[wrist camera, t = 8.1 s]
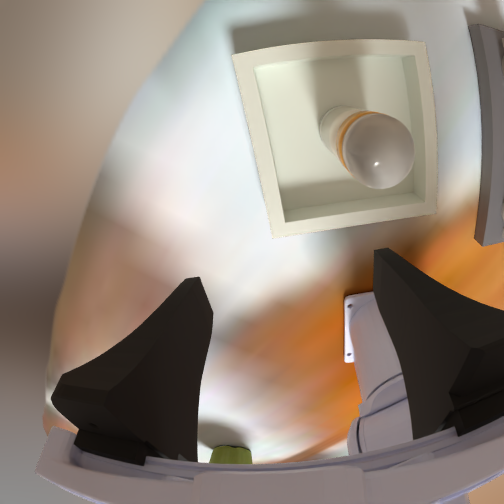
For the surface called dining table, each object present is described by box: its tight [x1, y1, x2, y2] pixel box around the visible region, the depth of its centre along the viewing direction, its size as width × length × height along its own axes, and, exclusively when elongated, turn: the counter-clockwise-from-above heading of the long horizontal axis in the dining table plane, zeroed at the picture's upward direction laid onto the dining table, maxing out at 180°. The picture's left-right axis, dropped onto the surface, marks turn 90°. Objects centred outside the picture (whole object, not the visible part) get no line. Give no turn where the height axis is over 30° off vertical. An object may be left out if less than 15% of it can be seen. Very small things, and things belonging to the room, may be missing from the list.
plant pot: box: [209, 446, 252, 464], centre depth 42 cm, size 12×12×11 cm
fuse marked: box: [319, 105, 415, 189], centre depth 14 cm, size 4×4×7 cm
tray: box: [231, 39, 438, 239], centre depth 17 cm, size 12×12×3 cm
